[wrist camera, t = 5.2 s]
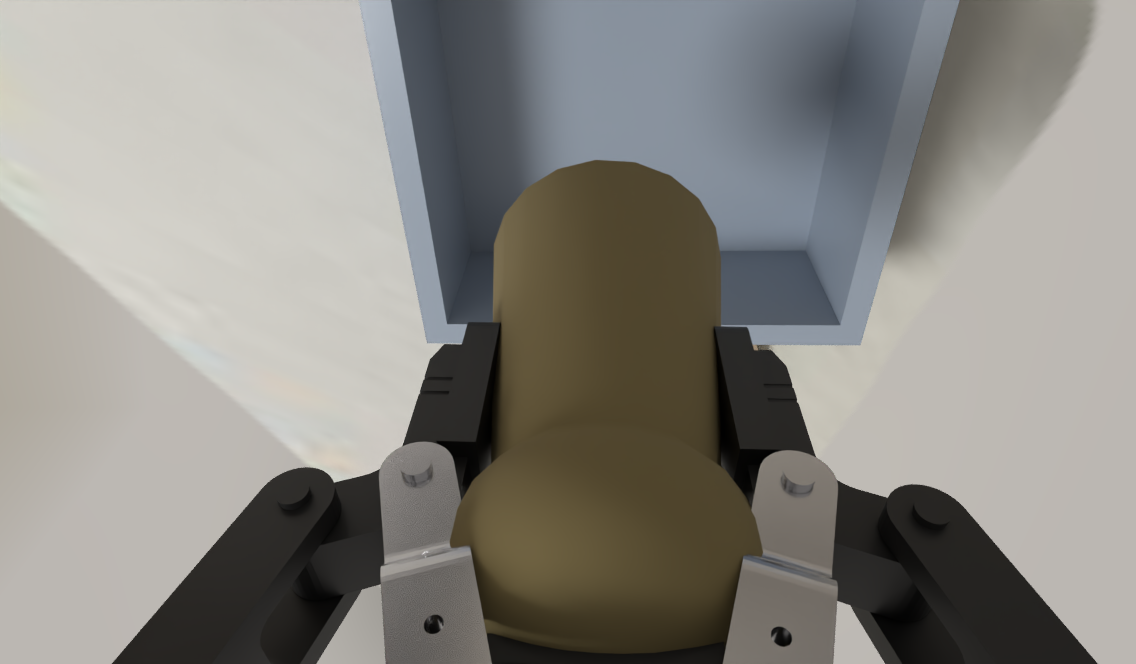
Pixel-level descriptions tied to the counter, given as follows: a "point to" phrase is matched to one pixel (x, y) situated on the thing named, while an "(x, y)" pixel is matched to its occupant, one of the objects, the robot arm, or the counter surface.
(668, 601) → the pepper shaker
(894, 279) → the counter surface
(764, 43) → the bin
